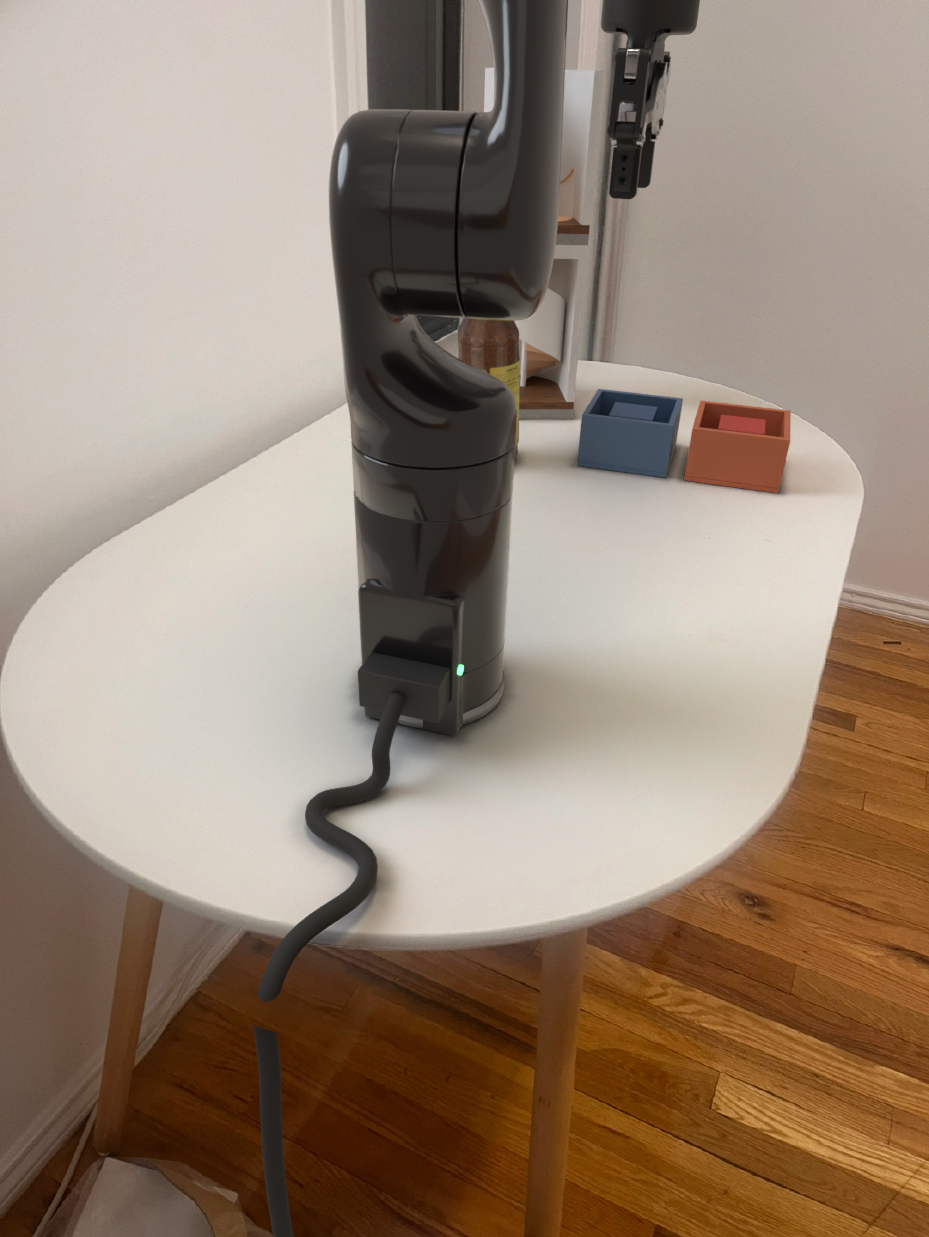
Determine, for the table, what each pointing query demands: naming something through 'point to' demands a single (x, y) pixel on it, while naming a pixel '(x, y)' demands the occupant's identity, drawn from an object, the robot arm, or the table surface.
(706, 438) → the red bin
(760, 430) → the red block
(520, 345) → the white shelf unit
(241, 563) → the table surface
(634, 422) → the blue bin
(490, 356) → the sauce bottle
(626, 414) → the blue block
